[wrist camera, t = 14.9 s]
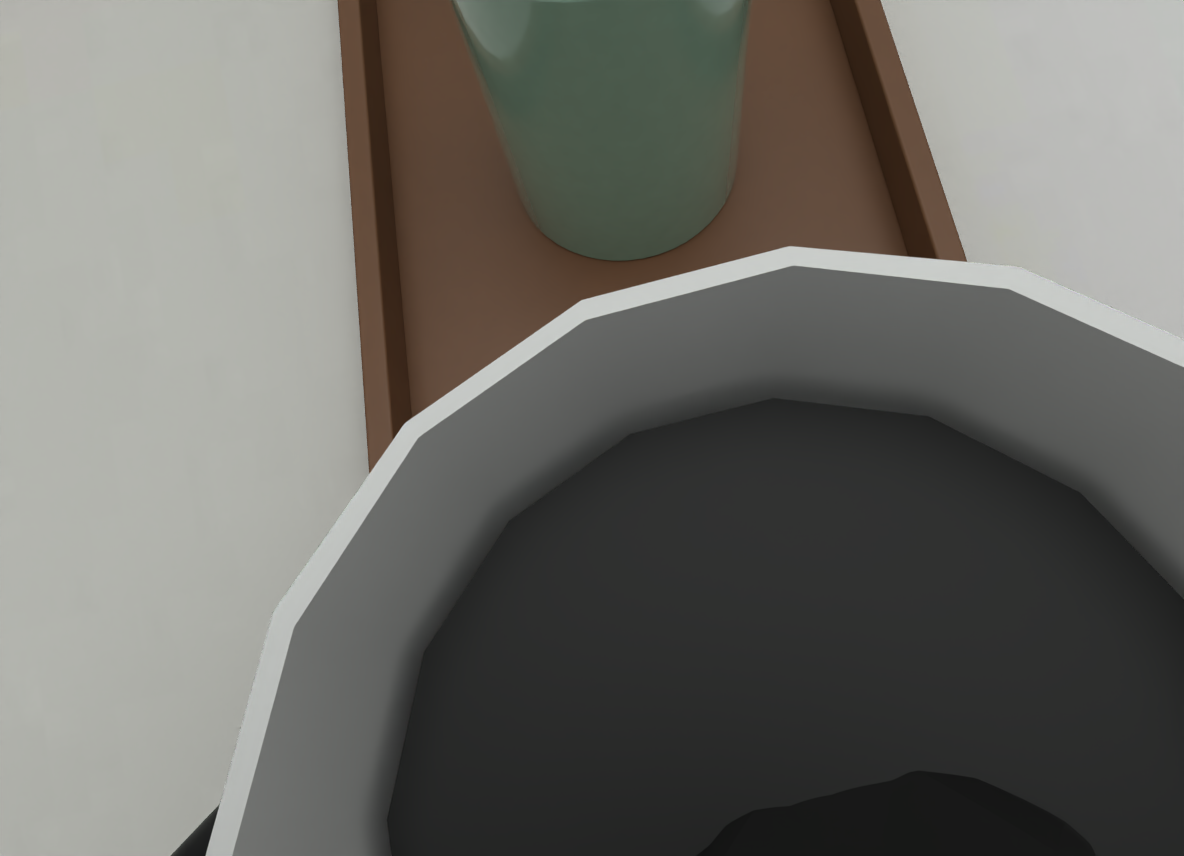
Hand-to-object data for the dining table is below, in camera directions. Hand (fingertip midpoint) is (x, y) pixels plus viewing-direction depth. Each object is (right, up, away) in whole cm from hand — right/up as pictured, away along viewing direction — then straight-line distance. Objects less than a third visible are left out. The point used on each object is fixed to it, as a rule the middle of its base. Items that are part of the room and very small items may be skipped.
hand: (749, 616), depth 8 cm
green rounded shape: (-1, +8, +13) cm, 15 cm away
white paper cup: (+1, -3, +6) cm, 7 cm away
